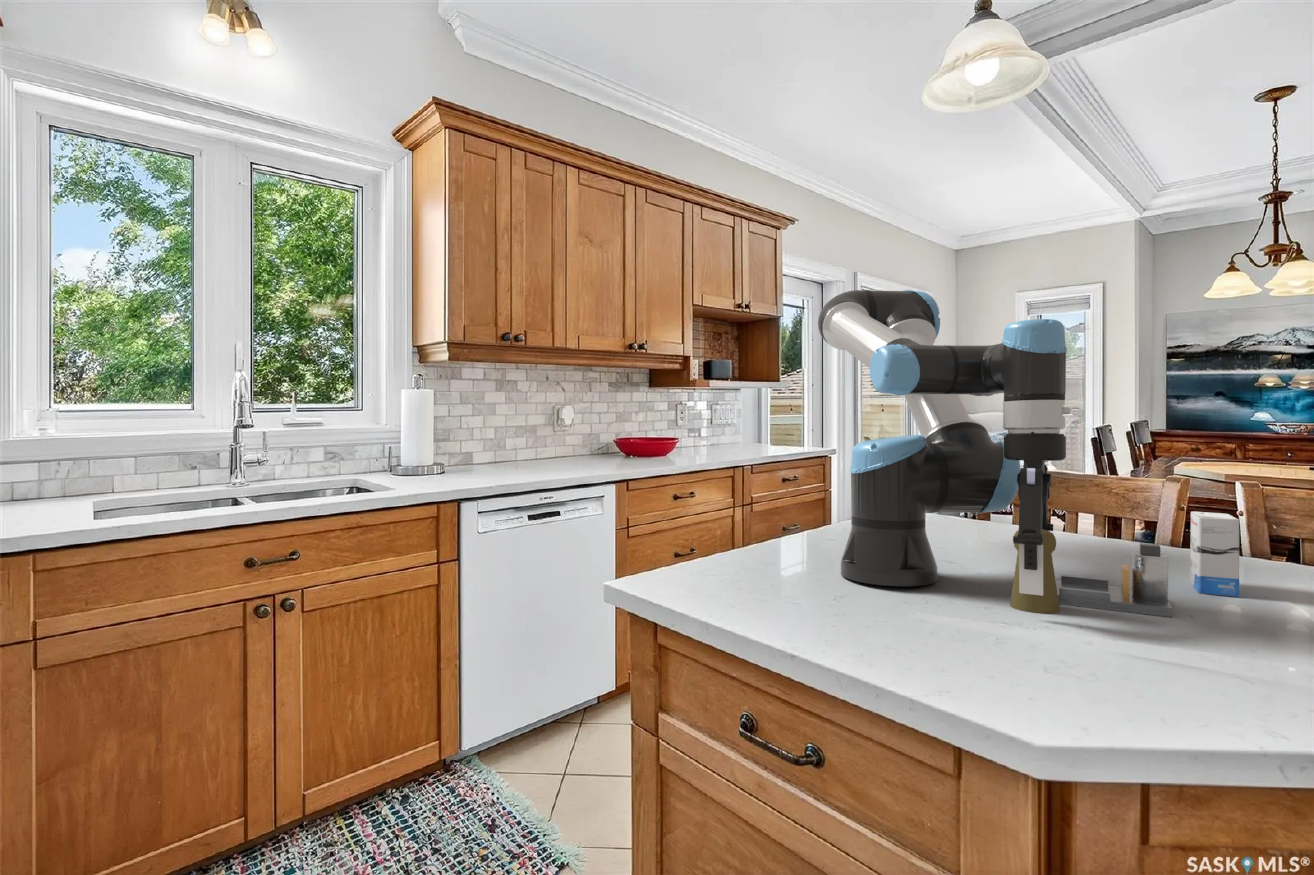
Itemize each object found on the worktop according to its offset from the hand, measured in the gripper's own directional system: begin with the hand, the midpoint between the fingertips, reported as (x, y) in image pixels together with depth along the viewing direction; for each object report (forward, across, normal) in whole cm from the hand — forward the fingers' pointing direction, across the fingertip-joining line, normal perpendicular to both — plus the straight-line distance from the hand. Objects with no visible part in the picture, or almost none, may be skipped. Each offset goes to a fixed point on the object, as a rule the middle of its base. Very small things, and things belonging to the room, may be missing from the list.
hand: (1034, 584), depth 91 cm
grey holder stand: (+3, +10, -8) cm, 13 cm away
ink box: (+4, +26, -22) cm, 35 cm away
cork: (+4, 0, 0) cm, 4 cm away
